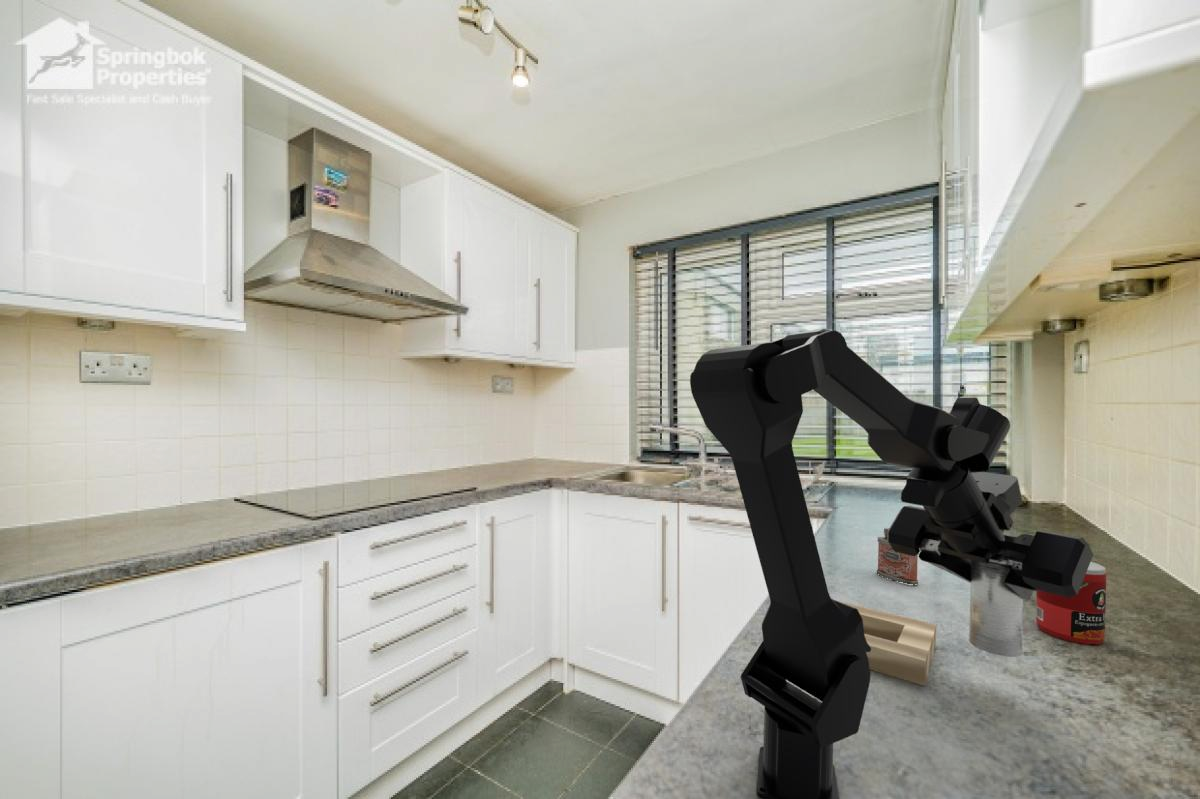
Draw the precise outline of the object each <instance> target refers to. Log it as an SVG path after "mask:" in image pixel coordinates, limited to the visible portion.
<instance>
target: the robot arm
mask: <svg viewBox="0 0 1200 799" xmlns="http://www.w3.org/2000/svg"><path fill="white" fill-rule="evenodd" d="M689 384H690V391H691V395H692V398H693V400H694V402H695V405H696V407H697V408H698V412H699V413H700V416H701V419H702V420H703V422H704V425H705V427H706V428H707V429H708V431H709V432H710V433H711V434H712V435H713V436H714V437H715V438H716V440H717V441H718V442H719V443H720V444H721V446H723V448H724V449H725V450H726V451H727V453H728V454H729V455H730V458H731V460H732V463H733V464H732V465H733V468H734V471H735V475H736V479H737V482H738V485H739V486H738V487H739V489H740V493H741V497H742V501H743V504H744V508H745V512H746V515H747V519H748V522H749V523H748V524H749V527H750V529H751V533H752V537H753V542H754V545H755V548H756V552H757V555H758V559H759V560H758V561H759V563H760V566H761V571H762V574H763V578H764V581H765V585H766V589H767V592H768V593H767V594H768V596H769V602H770V603H769V606H768V608H767V610H766V613H765V615H764V617H763V620H762V622H761V631H762V632H761V634H762V638H763V640H762V642H761V643H760V645H759V646H758V648H757V650H756V651H755V652H754V654H753V656H752V657H751V659H750V660H749V662H748V664H747V665H746V666H745V668H744V669H743V671H742V673H741V676H740V679H741V680H740V681H741V684H742V688H743V691H744V695H746V696H747V697H749V698H752V699H753V700H755V701H756V702H757V703H759V704H760V705H761V706H763V707H764V711H763V713H764V715H763V716H764V717H763V745H762V746H760V748H759V753H758V767H757V777H756V796H757V797H758V798H760V799H840V797H839V791H838V790H839V789H838V782H837V776H836V768H835V765H834V743H835V744H836V743H837V742H839V741H841V740H845V739H847V738H849V737H851V736H853V735H856V734H858V733H859V730H860V726H861V720H862V716H863V714H864V713H863V712H864V709H865V704H866V701H867V697H868V696H867V695H868V691H869V687H870V682H871V670H870V669H869V661H868V657H867V654H866V652H870V651H871V648H870V646H869V645H868V643H867V641H866V638H865V635H864V628H863V620H862V617H861V615H860V613H859V611H858V610H857V609H856V608H853V607H851V606H848V605H846V604H843V603H841V602H842V601H840V602H838V601H839V600H835V599H833V598H832V597H831V595H830V593H829V590H828V585H827V581H826V577H825V574H824V573H825V572H824V570H823V566H822V561H821V557H820V553H819V550H818V545H817V541H816V536H815V534H814V530H813V526H812V520H811V516H810V513H809V510H808V505H807V502H806V497H805V493H804V490H803V486H802V482H801V478H800V473H799V470H798V465H797V462H796V458H795V453H794V449H793V441H794V437H795V434H796V432H797V430H798V426H799V423H800V421H801V417H802V415H803V413H804V407H803V406H804V405H803V398H802V395H804V394H807V393H808V392H811V391H814V392H815V393H816V394H818V395H819V396H821V397H822V398H823V399H825V400H826V401H827V402H829V403H830V404H831V405H832V406H834V408H837V410H839V411H840V412H842V413H843V414H844V415H845V416H847V417H848V419H849V418H850V419H851V420H852V421H853V422H854V423H856V424H857V425H859V426H860V427H861V428H863V430H865V432H866V433H867V444H868V446H869V447H870V448H871V450H872V451H873V452H874V453H875V454H876V455H877V456H878V457H879V459H880V460H881V462H883V463H885V464H888V465H889V466H890V465H891V466H897V467H905V468H911V470H910V471H909V472H908V475H907V478H906V481H905V485H904V487H903V489H902V490H901V492H900V493H901V494H900V500H901V502H902V503H906V504H912V505H905V506H904V505H903V506H902V508H901V509H900V510H899V511H898V513H897V514H896V516H895V518H894V519H893V521H892V523H891V525H890V526H889V527H888V528H889V530H888V532H887V540H888V542H889V544H890V545H891V547H892V548H893V550H894V551H896V552H899V553H903V554H907V555H911V556H916V555H918V559H919V560H920V561H921V562H925V563H928V564H930V565H932V566H935V567H937V568H938V569H941V570H942V571H945V572H947V573H949V574H951V575H953V576H955V577H958V578H959V579H962V580H964V581H965V582H967V583H970V584H971V560H974V561H978V562H982V563H986V564H988V562H989V560H990V561H994V562H1001V561H1002V559H1003V557H1006V558H1009V559H1008V560H1009V562H1010V564H1012V566H1011V568H1010V571H1009V573H1008V575H1007V577H1006V579H1005V581H1004V582H1005V583H1006V584H1007V585H1008V586H1009V587H1010V588H1011V589H1013V590H1014V591H1015V592H1016V593H1017V594H1018V595H1019V596H1021V597H1022V598H1023V600H1026V601H1030V600H1031V598H1032V595H1033V592H1037V590H1041V591H1044V592H1048V593H1052V594H1055V595H1059V596H1063V597H1067V598H1069V597H1073V596H1076V595H1077V594H1078V592H1079V589H1080V587H1081V584H1082V582H1083V579H1084V577H1085V574H1086V572H1087V569H1088V567H1089V564H1090V562H1092V560H1093V557H1094V553H1093V551H1092V549H1091V546H1090V544H1089V543H1088V542H1087V540H1085V538H1084V537H1081V536H1076V535H1071V534H1066V533H1060V532H1054V531H1048V530H1043V529H1042V530H1036V532H1035V535H1032V534H1027V533H1022V534H1019V535H1018V536H1012V535H1006V534H1004V533H1005V532H1004V531H1007V532H1010V530H1011V528H1012V526H1013V525H1014V521H1013V519H1012V517H1011V515H1012V513H1013V512H1014V511H1015V510H1016V509H1017V508H1018V507H1021V505H1022V504H1023V498H1022V492H1021V488H1020V484H1019V479H1018V477H1017V476H1015V475H1012V474H1011V475H1010V474H1000V473H993V472H992V473H991V472H987V471H989V469H990V467H991V465H992V464H993V462H994V460H995V458H996V456H997V454H998V452H999V450H1000V448H1001V447H1002V444H1003V443H1004V441H1005V439H1006V437H1007V435H1008V434H1009V432H1010V429H1011V423H1010V420H1009V418H1008V417H1007V416H1004V414H1002V413H1001V412H999V411H998V409H995V408H992V407H991V406H988V405H985V404H981V403H980V401H979V399H978V397H957V398H956V400H955V401H954V403H953V404H952V407H951V410H950V412H947V411H946V410H944V409H942V408H940V407H938V406H935V405H931V404H927V403H923V402H919V401H915V400H913V399H911V398H909V397H907V396H906V395H905V394H904V393H903V392H901V391H900V389H898V388H897V387H896V386H895V385H893V384H892V383H891V382H890V381H889V380H888V379H886V378H885V377H884V375H882V374H881V373H879V372H878V371H877V370H876V369H874V367H872V366H871V365H870V364H869V363H868V362H867V361H866V360H865V359H864V358H862V357H861V356H859V354H857V353H856V352H855V351H854V350H853V349H851V348H850V347H849V345H848V344H847V341H846V338H845V337H844V336H843V334H842V333H841V332H839V331H838V330H833V329H831V328H819V329H811V330H805V331H803V330H802V331H796V332H790V333H789V334H787V335H786V336H784V337H781V338H778V339H775V340H772V341H770V342H769V341H768V342H761V343H753V344H747V345H746V344H745V345H738V346H730V347H722V348H715V349H710V350H708V351H707V352H705V353H703V354H702V355H701V357H700V358H699V359H698V360H697V362H696V363H695V367H694V369H693V371H692V372H691V373H690V377H689ZM984 471H985V472H984ZM913 505H916V506H913ZM918 506H922V507H918Z"/></svg>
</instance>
